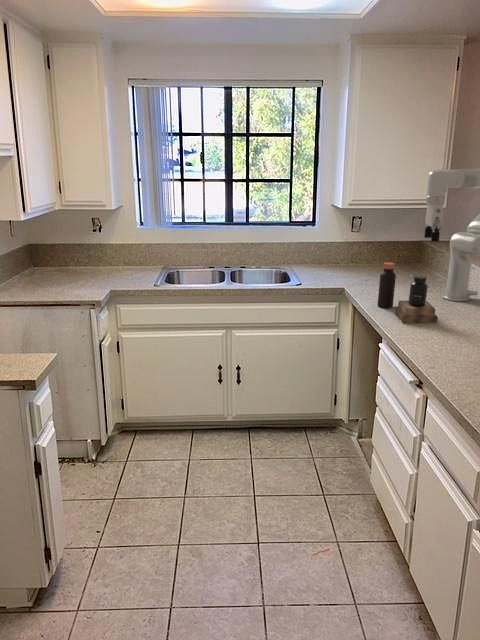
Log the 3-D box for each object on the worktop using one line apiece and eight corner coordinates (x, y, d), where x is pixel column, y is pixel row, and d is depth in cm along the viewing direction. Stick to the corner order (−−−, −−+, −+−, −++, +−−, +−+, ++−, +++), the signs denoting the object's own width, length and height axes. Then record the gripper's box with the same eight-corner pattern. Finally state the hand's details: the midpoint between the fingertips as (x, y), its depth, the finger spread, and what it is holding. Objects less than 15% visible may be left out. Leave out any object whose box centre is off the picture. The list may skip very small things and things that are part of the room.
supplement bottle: (414, 307, 215) (417, 279, 211) (405, 302, 221) (408, 275, 217) (428, 306, 216) (432, 278, 213) (419, 301, 223) (422, 274, 219)
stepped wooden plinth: (427, 313, 227) (428, 300, 225) (436, 323, 213) (438, 309, 211) (394, 313, 227) (395, 299, 225) (402, 323, 214) (403, 309, 212)
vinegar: (382, 309, 233) (386, 265, 227) (374, 304, 239) (378, 262, 233) (395, 307, 235) (400, 264, 228) (387, 303, 241) (391, 261, 235)
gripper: (451, 202, 218) (446, 242, 223) (437, 198, 234) (433, 236, 240) (433, 202, 218) (428, 242, 224) (420, 198, 235) (417, 236, 240)
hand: (431, 239), depth 232 cm, fingers open, 9 cm apart
